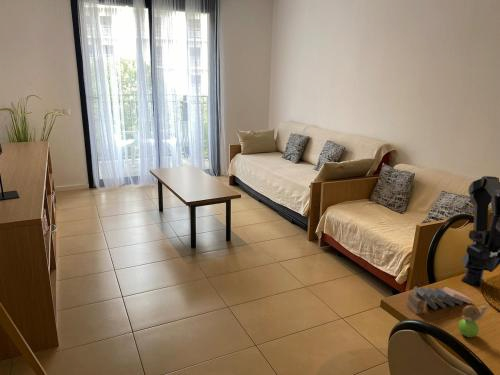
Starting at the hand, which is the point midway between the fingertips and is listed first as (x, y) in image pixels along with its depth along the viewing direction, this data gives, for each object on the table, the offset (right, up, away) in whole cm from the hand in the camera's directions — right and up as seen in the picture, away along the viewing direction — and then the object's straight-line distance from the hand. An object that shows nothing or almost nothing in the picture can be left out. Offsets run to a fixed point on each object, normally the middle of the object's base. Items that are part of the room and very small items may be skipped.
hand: (489, 271), depth 130 cm
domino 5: (-6, -11, +4) cm, 13 cm away
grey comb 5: (-20, -12, 0) cm, 23 cm away
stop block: (-27, -13, -2) cm, 29 cm away
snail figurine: (-15, -17, -14) cm, 26 cm away
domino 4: (-9, -11, +3) cm, 15 cm away
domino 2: (-16, -11, +1) cm, 20 cm away
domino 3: (-13, -11, +2) cm, 17 cm away
